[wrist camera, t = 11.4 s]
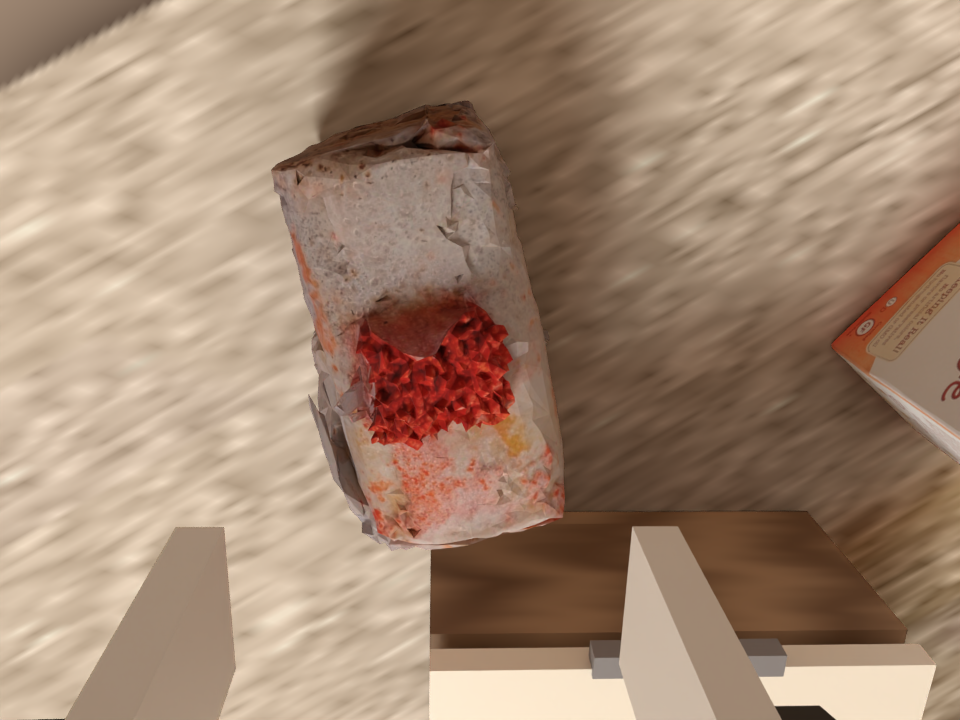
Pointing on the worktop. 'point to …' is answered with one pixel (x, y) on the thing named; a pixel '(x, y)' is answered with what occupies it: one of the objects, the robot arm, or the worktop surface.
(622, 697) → the lid
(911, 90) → the worktop surface
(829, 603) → the box base
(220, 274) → the worktop surface
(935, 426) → the cracker box
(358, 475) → the food item
